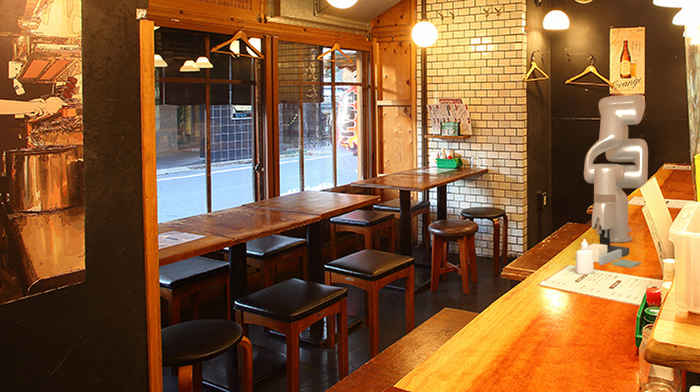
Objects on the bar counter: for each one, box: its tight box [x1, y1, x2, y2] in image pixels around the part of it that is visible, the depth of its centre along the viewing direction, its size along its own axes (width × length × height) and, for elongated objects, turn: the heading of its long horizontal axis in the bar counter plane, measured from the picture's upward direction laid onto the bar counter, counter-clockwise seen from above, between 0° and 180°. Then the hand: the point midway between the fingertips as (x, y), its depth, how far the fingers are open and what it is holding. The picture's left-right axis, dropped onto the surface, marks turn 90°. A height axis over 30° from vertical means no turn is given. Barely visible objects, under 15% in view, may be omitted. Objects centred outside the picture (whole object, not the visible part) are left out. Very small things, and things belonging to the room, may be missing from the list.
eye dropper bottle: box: [575, 238, 595, 275], centre depth 205 cm, size 4×6×12 cm
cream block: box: [588, 242, 607, 264], centre depth 221 cm, size 6×5×6 cm
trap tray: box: [607, 244, 630, 258], centre depth 229 cm, size 5×10×2 cm, turn 38°
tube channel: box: [598, 249, 623, 266], centre depth 222 cm, size 14×10×3 cm
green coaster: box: [611, 258, 642, 269], centre depth 213 cm, size 7×7×1 cm
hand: (604, 247), depth 224 cm, fingers closed
